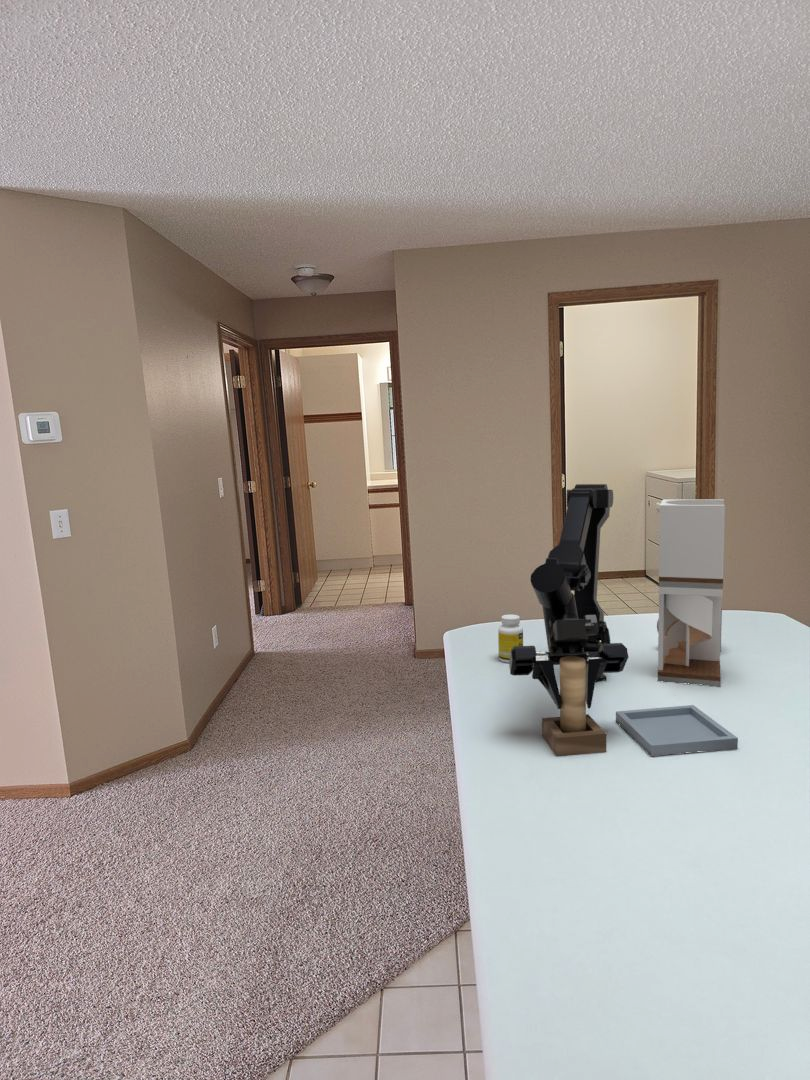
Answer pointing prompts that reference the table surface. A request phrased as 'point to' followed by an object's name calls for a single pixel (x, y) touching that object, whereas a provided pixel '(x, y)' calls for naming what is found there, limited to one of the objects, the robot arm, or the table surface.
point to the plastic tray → (675, 730)
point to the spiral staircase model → (690, 590)
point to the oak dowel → (573, 694)
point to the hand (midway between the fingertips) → (574, 707)
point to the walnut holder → (573, 738)
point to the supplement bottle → (509, 636)
